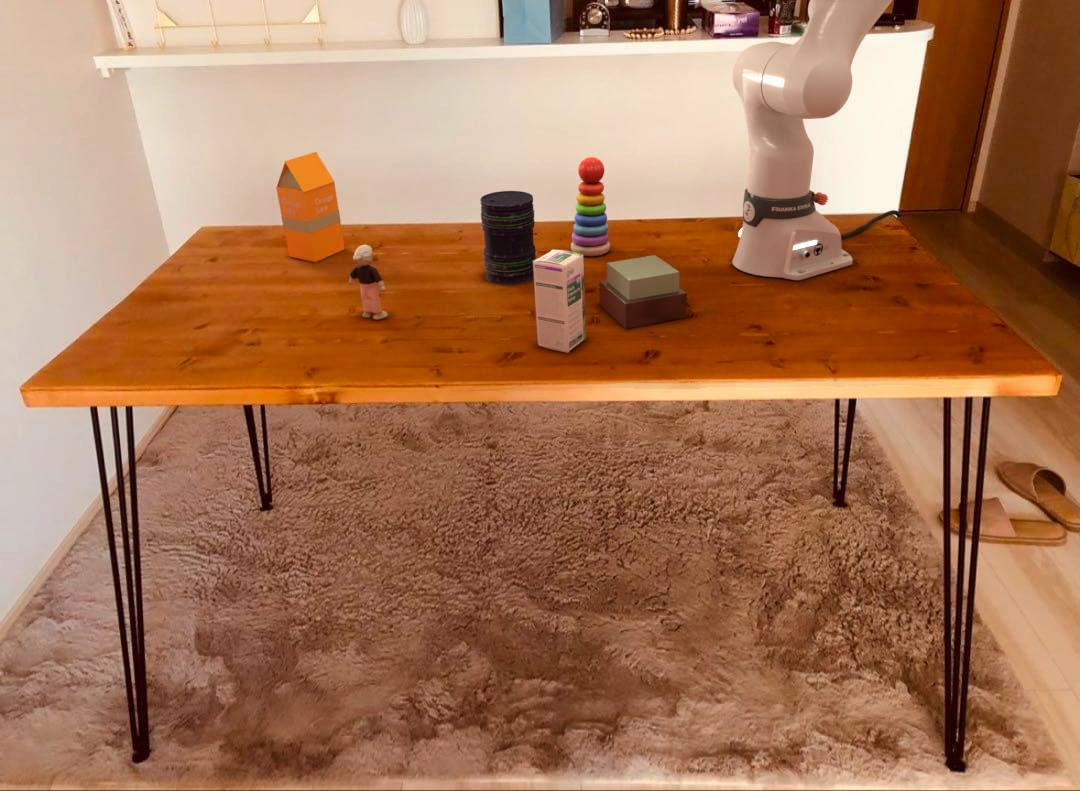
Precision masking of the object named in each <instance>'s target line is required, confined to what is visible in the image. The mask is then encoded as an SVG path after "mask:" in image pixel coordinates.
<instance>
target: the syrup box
mask: <svg viewBox="0 0 1080 791" xmlns="http://www.w3.org/2000/svg"><path fill="white" fill-rule="evenodd" d="M533 270H534V278H533V285H534V286H533V287H534V301H535V303H534V304H535V319H536V336H537V345H538V346H539V347H542V348H545V349H549V350H553V351H557V352H562V353H566V354H568V353H570V351H571V350H573V349H574V348H576V347H577V346H578V345H579V344H581V343H582V342H583V341H586V338H587V334H586V330H587V329H586V302H585V301H586V300H585V298H586V297H585V266H584V256H583V255H582V254H580V253H576V252H573V251H572V250H565V249H551V250H550V251H549V252H547V253H546V254H544V255H542V256H540V257H538V258H536V260H534V261H533Z"/></svg>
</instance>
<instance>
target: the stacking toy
mask: <svg viewBox="0 0 1080 791" xmlns="http://www.w3.org/2000/svg"><path fill="white" fill-rule="evenodd" d="M577 172H578V176H579V178H580V180H581V181H582V182H580V183H579V184H578V187H577V188H578V189H577V190H578V192H579V193H577V195H576V201H577V204H576V205H575V210H576V213H575V215H574V222H575V223H574V224H573V232H572V234H571V241H572V242H571V244H570V249H571V250H570V251H571V252H576V253H580V254H582V255H583V257H597V256H598V257H599V256H602V255H605V254H606V253H608V252H609V251H610V250H611V243H610V241H609V238H610V235H609V233H608V231H609V224H608V223H607V221H608V215H607V213H606V210H607V205H606V203H605V202H604V201H605V195H604V193H603V192H604V190H605V185H604V182H601V180H602V179H603V178H604V174H605V165H604V164H603V162H602V160H600V159H599V158H597V157H594V156H589V157H585V158H584V159H583V160H582V161H581V162H580V163H579V166H578V171H577Z"/></svg>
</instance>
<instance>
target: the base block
mask: <svg viewBox="0 0 1080 791" xmlns="http://www.w3.org/2000/svg"><path fill="white" fill-rule="evenodd" d="M598 287H599V291H598V294H599V299H598V300H599V301H598V302H599V304H598V305H599V306H600V308H601V309H602V310H604V311H605V312H606V313H607V314H608V315H609V316H611V318H613V319H614V320H615V321H616V322H618V323H619V325H620V326H622V327H623V328H624V329H625V330H628V329H634V328H639V327H644V326H649V325H656V324H660V323H666V322H670V321H677V320H680V319H681V320H682V319H686V317H687V316H686V315H687V302H688V301H687V300H688V299H687V298H688V293H687V292H686V291H685V290H684V289H682V288H680V287H679V291H678V292H673V293H668V294H662V295H657V296H651V297H645V298H640V299H634V300H628V299H627V298H626V297H625V296H623V295H622V294H621V293H620V292H619V291H617V290H616V289H615V288H614V287H612V286H611V285H610V284H609V283H608V282H607V279H603V280H599V283H598Z"/></svg>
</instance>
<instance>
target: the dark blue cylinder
mask: <svg viewBox="0 0 1080 791" xmlns="http://www.w3.org/2000/svg"><path fill="white" fill-rule="evenodd" d="M533 203H534V196H533V195H532V194H531V193H529V192H526V191H519V190H501V191H493V192H490V193H486V194H484V195H482V196H481V197H480V205H481V206H480V218H481V219H480V220H481V228H482V229H481V230H482V231H483V236H484V248H483V262H484V263H483V265H484V269H485V278H486V280H487V281H488V282H491V283H493V284H497V285H518V284H524V283H527V282H530V281H532V280H534V270H533V261H534V260H536V259H537V254H536V251H537V249H536V246H535V242H534V228H535V223H536V222H535V210H534V204H533Z"/></svg>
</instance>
